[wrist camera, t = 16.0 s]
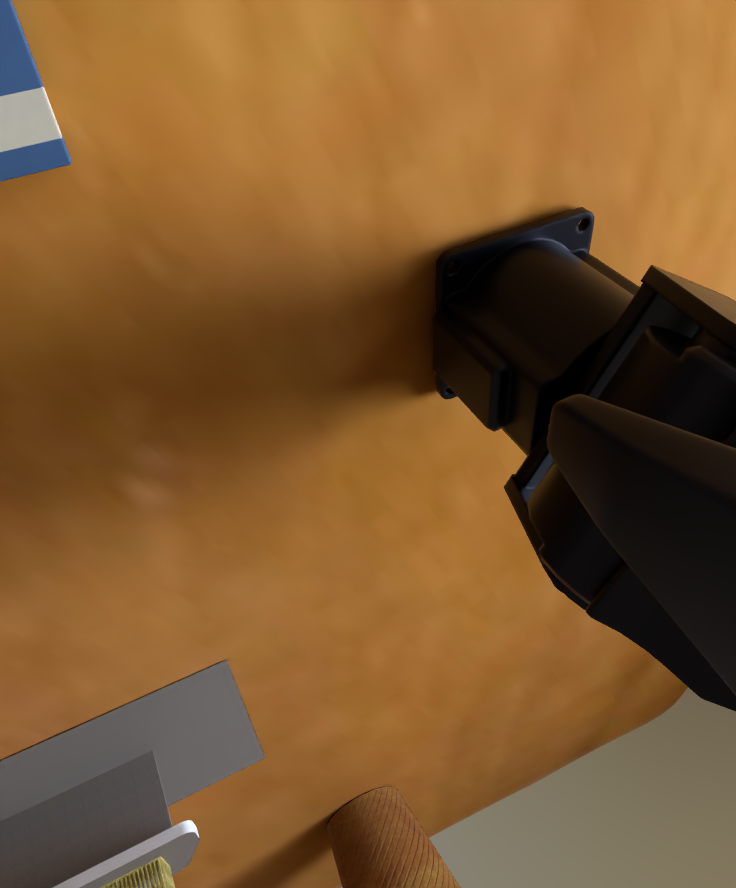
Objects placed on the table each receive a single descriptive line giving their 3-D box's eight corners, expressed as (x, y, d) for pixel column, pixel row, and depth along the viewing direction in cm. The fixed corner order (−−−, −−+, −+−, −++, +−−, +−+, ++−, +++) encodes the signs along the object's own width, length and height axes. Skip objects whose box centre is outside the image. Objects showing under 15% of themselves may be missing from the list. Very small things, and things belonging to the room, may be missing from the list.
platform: (265, 757, 42) (306, 867, 38) (-51, 914, 37) (-46, 1062, 33) (226, 660, 34) (272, 786, 29) (-189, 845, 29) (-207, 1030, 24)
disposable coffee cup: (434, 775, 58) (517, 929, 50) (354, 842, 60) (422, 1002, 52) (370, 770, 51) (455, 948, 43) (282, 846, 53) (348, 1031, 45)
